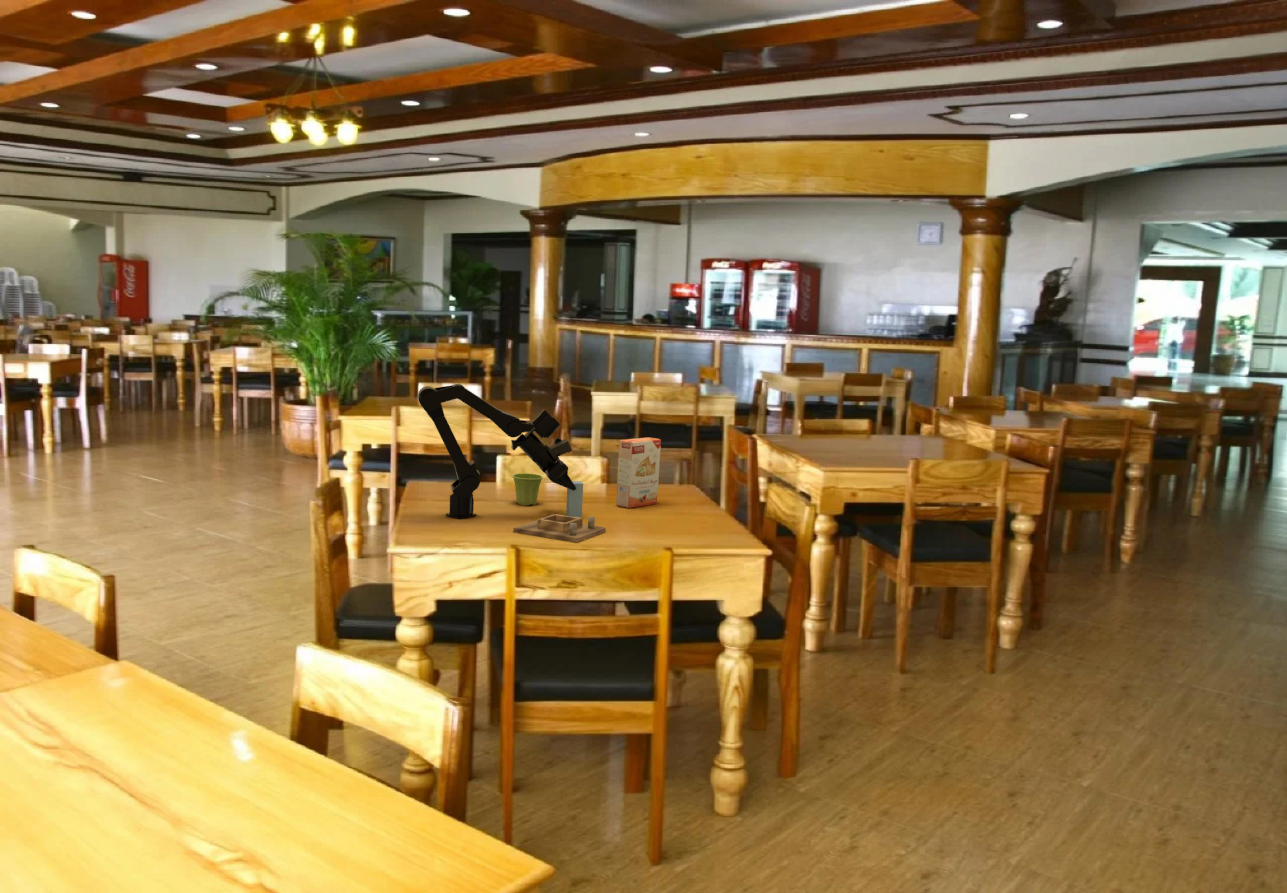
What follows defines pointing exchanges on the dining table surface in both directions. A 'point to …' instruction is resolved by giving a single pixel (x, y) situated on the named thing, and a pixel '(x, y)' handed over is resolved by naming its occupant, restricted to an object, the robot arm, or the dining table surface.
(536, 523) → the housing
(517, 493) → the plant pot
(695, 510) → the dining table surface
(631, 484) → the cracker box
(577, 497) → the pale gray block
